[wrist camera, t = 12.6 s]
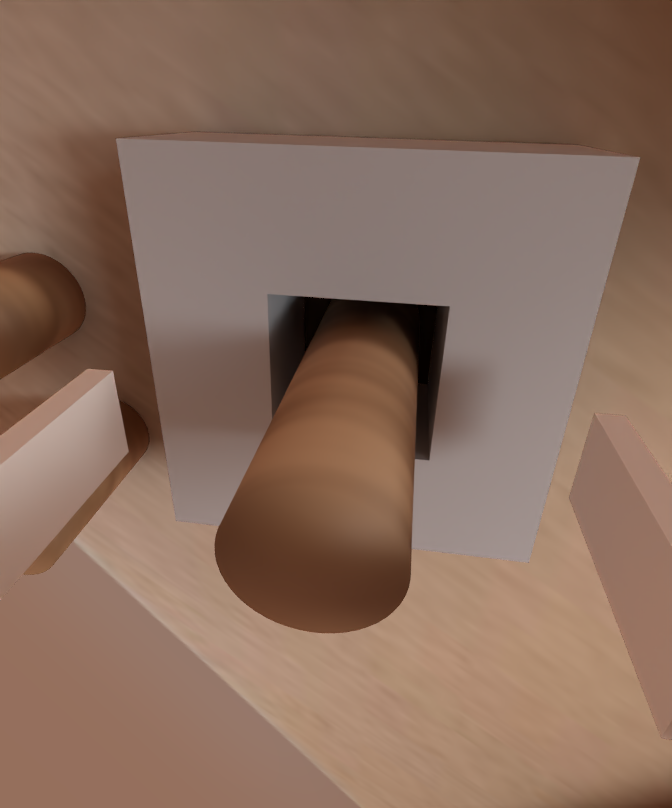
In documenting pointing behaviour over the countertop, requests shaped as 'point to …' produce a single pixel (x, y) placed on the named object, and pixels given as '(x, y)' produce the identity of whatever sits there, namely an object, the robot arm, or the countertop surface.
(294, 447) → the pin tall
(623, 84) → the countertop surface
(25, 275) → the pin short
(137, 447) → the pin medium
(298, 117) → the countertop surface
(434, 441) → the hole block
